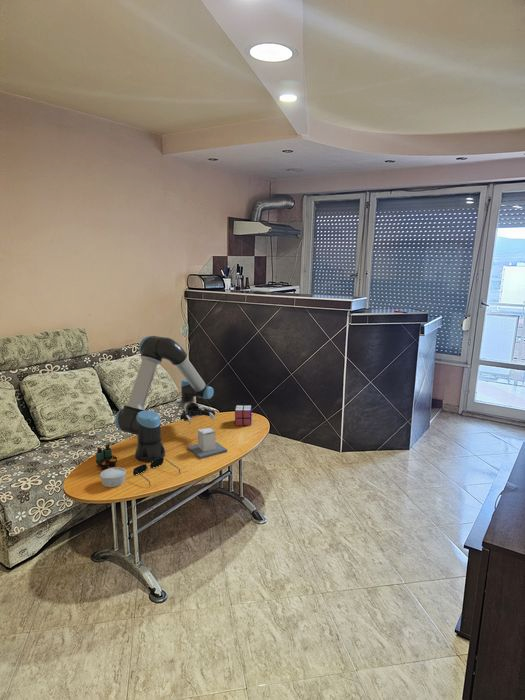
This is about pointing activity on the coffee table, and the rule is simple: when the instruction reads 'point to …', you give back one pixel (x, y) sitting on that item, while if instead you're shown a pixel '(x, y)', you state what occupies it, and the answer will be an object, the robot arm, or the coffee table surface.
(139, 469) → the sunglasses
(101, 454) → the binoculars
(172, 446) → the coffee table surface
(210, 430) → the white rectangular box
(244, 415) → the puzzle cube
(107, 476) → the ramekin
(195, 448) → the post dock
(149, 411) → the robot arm
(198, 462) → the coffee table surface
